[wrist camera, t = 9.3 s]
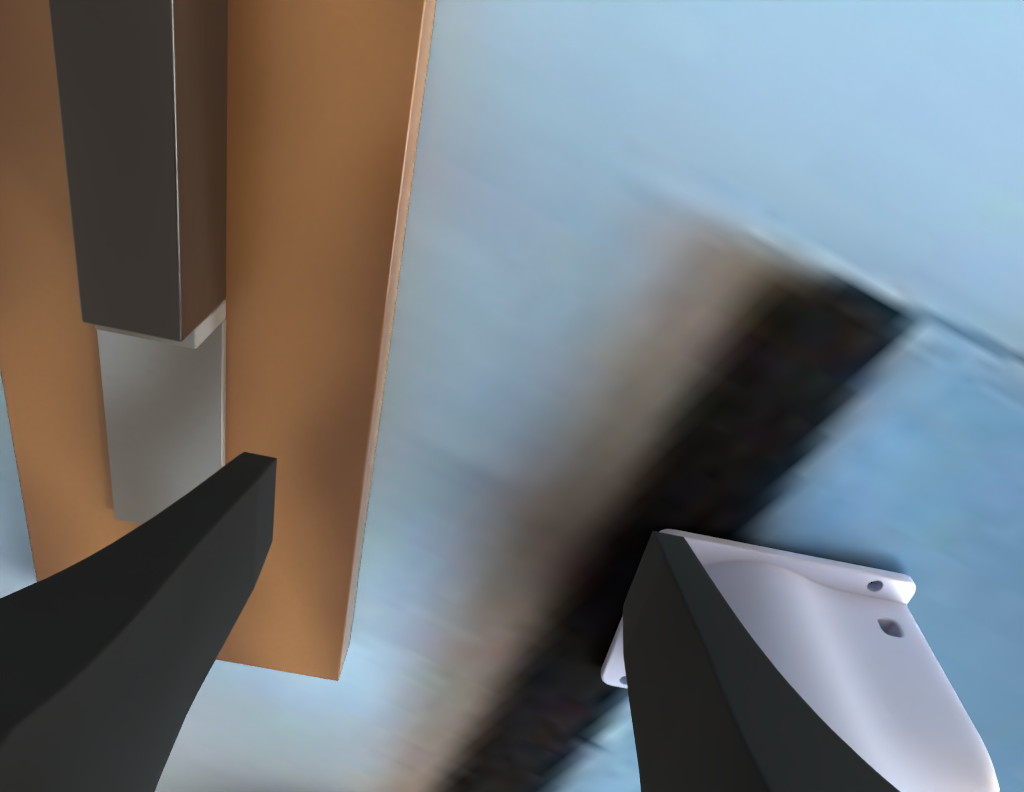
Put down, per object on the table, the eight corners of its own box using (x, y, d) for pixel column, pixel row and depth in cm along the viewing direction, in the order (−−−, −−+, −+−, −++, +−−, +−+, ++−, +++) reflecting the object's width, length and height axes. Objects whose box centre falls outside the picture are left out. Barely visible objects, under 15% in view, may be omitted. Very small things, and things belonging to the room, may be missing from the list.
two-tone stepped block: (229, -34, 16) (171, -36, 13) (225, 533, 24) (188, 595, 22) (66, -72, 16) (-22, -80, 13) (119, 513, 24) (70, 574, 22)
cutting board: (455, -137, 16) (445, -150, 15) (349, 644, 29) (338, 681, 28) (-49, -262, 16) (-116, -288, 14) (72, 594, 29) (44, 630, 27)
